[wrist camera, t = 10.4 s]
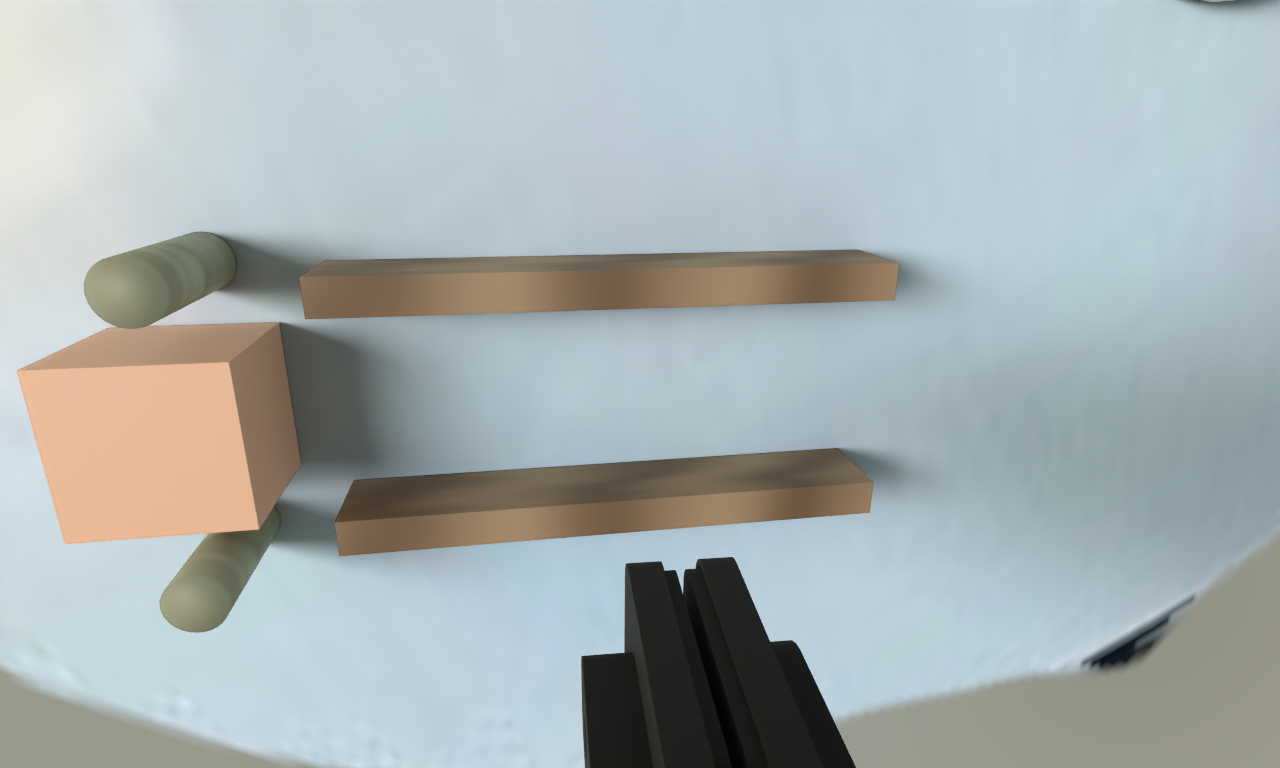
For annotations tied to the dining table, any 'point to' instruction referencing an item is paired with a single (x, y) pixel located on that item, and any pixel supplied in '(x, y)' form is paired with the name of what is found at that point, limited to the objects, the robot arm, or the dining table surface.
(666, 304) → the chute
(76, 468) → the block
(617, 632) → the dining table surface
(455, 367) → the dining table surface
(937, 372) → the dining table surface
